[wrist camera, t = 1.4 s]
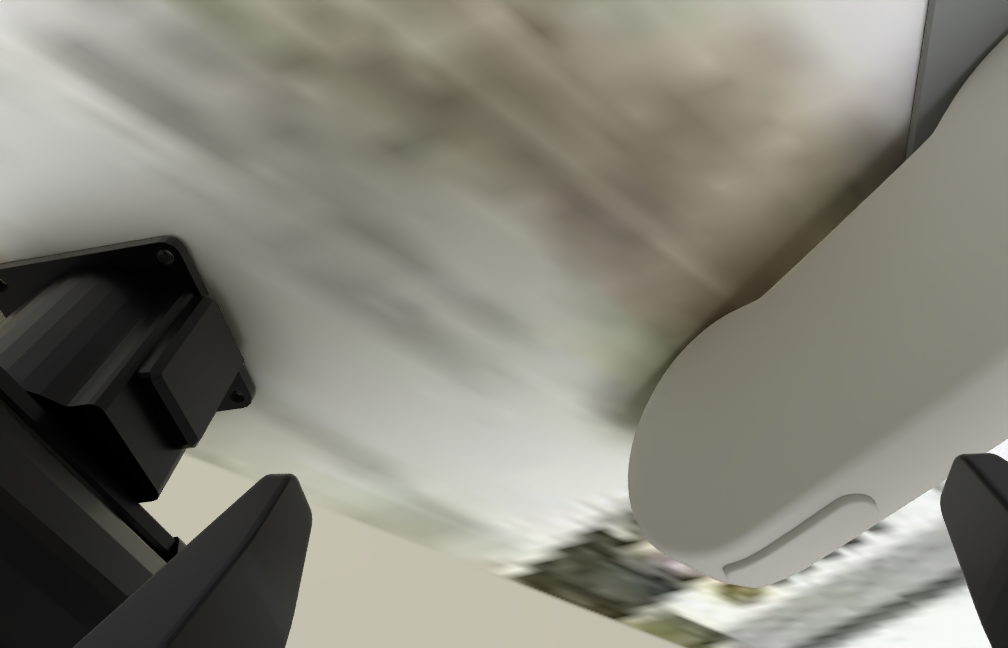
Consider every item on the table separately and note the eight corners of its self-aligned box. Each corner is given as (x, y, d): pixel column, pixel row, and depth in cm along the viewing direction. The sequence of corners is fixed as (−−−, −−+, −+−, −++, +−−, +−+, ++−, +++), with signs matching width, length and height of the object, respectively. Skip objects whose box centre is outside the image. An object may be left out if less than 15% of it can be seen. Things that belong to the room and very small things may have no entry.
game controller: (661, 439, 25) (709, 656, 18) (613, 412, 24) (643, 625, 17) (1221, -61, 16) (1770, -15, 9) (1165, -127, 15) (1711, -134, 8)
